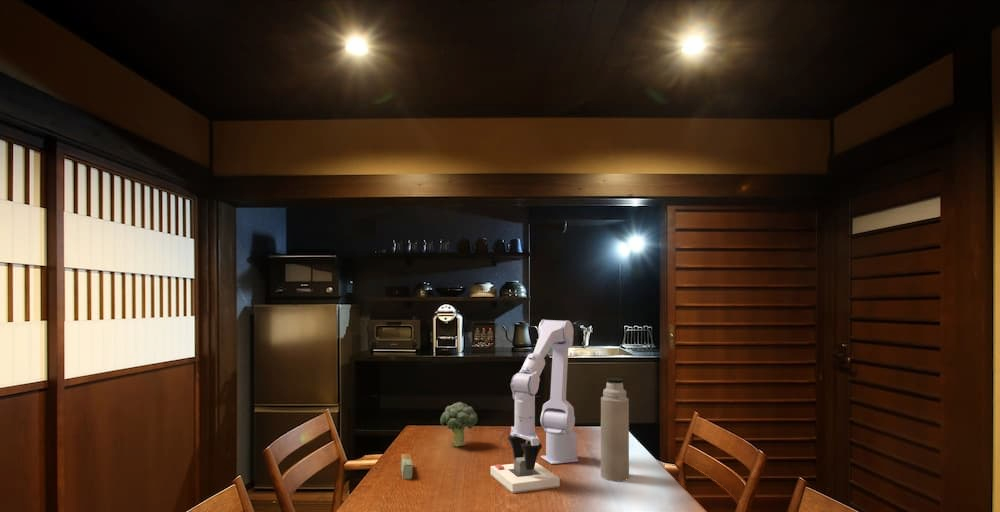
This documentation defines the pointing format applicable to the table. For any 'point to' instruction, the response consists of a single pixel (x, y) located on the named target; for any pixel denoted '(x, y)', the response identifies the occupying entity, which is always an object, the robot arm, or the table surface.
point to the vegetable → (459, 420)
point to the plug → (521, 468)
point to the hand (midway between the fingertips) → (524, 465)
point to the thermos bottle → (614, 431)
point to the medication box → (406, 466)
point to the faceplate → (524, 478)
